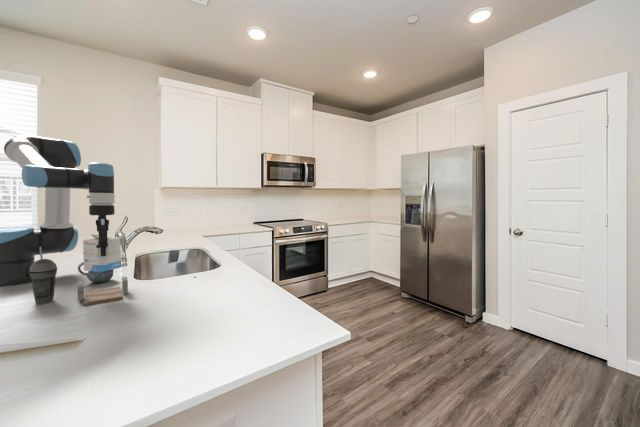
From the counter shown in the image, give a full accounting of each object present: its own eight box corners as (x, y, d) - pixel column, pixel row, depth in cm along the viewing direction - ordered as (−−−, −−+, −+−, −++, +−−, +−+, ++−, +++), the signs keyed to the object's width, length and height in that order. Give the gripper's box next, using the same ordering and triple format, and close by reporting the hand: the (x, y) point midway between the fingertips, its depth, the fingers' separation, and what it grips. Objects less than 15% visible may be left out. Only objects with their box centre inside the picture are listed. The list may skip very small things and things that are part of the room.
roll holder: (79, 294, 107) (78, 279, 107) (125, 287, 116) (125, 273, 116) (77, 307, 96) (76, 290, 95) (128, 298, 105) (128, 282, 105)
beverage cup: (40, 306, 95) (38, 249, 94) (24, 304, 97) (22, 248, 96) (63, 299, 102) (62, 245, 101) (48, 297, 104) (46, 244, 103)
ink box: (121, 267, 108) (121, 233, 107) (98, 273, 100) (97, 236, 99) (106, 265, 111) (106, 232, 110) (82, 270, 103) (82, 234, 102)
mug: (118, 281, 125) (117, 259, 125) (83, 288, 115) (83, 264, 114) (109, 277, 130) (108, 256, 130) (75, 284, 120) (74, 261, 119)
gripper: (89, 203, 111) (91, 257, 112) (88, 205, 93) (89, 269, 94) (113, 203, 116) (114, 255, 117) (116, 205, 97) (117, 266, 98)
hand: (103, 261), depth 105 cm, fingers closed on ink box, 11 cm apart
